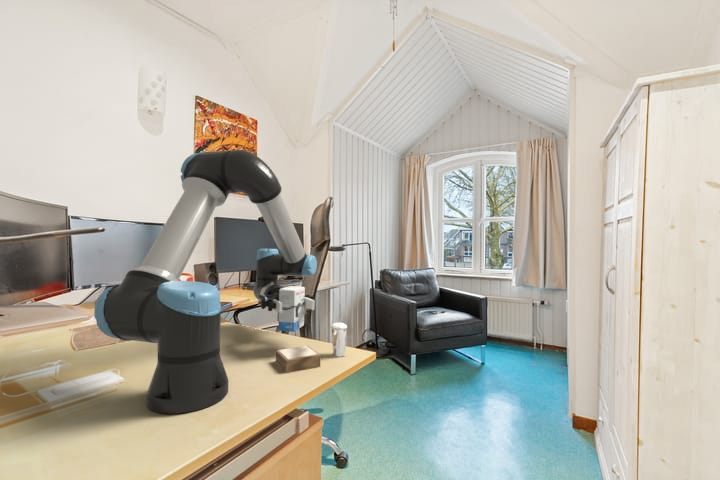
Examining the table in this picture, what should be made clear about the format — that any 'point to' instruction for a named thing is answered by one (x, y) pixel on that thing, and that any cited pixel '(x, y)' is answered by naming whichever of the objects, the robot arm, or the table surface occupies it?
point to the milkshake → (338, 338)
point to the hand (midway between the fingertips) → (297, 306)
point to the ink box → (291, 308)
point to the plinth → (297, 358)
